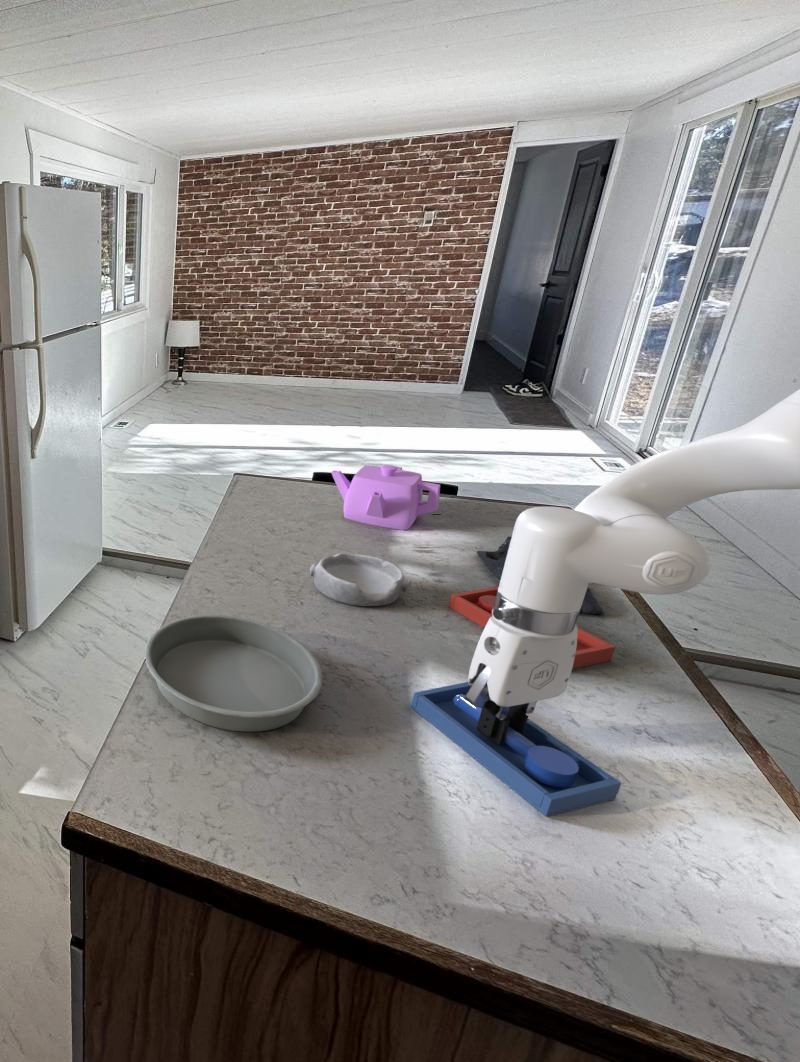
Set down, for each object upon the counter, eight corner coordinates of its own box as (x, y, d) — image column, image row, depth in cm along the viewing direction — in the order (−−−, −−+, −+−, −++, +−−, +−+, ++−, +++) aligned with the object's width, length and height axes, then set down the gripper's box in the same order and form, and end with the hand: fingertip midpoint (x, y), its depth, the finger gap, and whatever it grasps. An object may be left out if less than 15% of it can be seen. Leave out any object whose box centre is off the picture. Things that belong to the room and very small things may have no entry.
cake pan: (116, 654, 104) (117, 631, 102) (247, 625, 109) (249, 602, 108) (201, 761, 82) (203, 733, 80) (359, 716, 87) (364, 690, 86)
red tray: (448, 606, 111) (451, 594, 110) (494, 598, 113) (498, 586, 112) (558, 671, 94) (562, 657, 93) (611, 660, 96) (616, 646, 95)
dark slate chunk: (497, 604, 111) (503, 580, 109) (473, 551, 129) (478, 530, 128) (611, 621, 105) (619, 595, 103) (569, 563, 123) (576, 541, 121)
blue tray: (410, 707, 89) (413, 692, 88) (469, 695, 90) (472, 680, 89) (545, 817, 71) (551, 800, 70) (615, 799, 73) (622, 782, 72)
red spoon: (583, 653, 97) (587, 642, 96) (558, 658, 96) (562, 647, 95) (492, 603, 111) (494, 593, 110) (469, 607, 110) (472, 597, 109)
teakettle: (441, 528, 140) (452, 475, 136) (366, 534, 139) (376, 481, 135) (390, 500, 156) (399, 452, 151) (323, 506, 155) (330, 457, 150)
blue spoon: (440, 706, 87) (442, 694, 86) (468, 700, 88) (471, 688, 87) (551, 791, 73) (556, 778, 72) (584, 783, 74) (589, 770, 73)
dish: (417, 600, 114) (422, 575, 112) (357, 618, 110) (362, 592, 108) (350, 566, 126) (354, 543, 125) (294, 581, 122) (297, 558, 120)
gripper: (507, 639, 70) (471, 769, 77) (624, 616, 72) (579, 743, 79) (449, 605, 77) (420, 727, 83) (558, 585, 79) (522, 705, 86)
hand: (498, 734), depth 81 cm, fingers closed on blue spoon, 2 cm apart
